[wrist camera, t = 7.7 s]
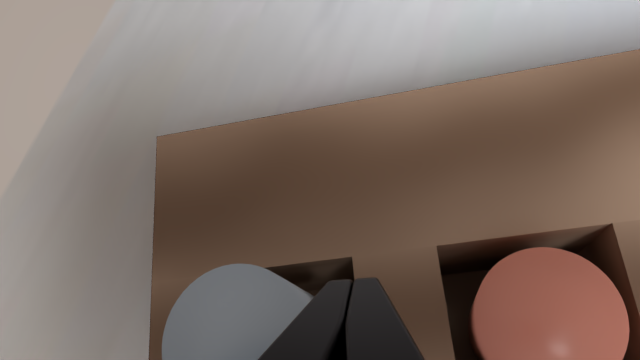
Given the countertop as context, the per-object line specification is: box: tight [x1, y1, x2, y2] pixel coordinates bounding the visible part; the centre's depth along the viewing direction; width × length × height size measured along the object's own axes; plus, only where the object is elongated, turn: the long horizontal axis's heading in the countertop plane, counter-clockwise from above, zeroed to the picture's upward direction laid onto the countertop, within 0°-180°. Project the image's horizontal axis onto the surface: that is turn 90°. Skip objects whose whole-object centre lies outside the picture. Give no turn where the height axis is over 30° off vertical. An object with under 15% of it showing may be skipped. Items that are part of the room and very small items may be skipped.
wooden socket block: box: [149, 49, 640, 360], centre depth 17 cm, size 10×22×6 cm, turn 95°
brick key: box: [468, 247, 629, 360], centre depth 14 cm, size 3×3×4 cm
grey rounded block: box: [162, 264, 315, 360], centre depth 13 cm, size 3×3×4 cm
